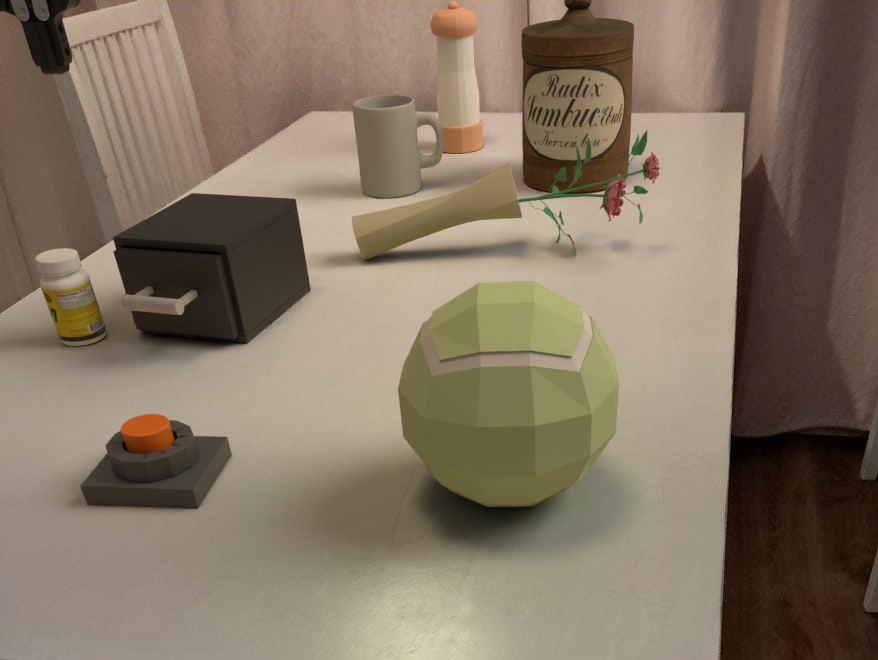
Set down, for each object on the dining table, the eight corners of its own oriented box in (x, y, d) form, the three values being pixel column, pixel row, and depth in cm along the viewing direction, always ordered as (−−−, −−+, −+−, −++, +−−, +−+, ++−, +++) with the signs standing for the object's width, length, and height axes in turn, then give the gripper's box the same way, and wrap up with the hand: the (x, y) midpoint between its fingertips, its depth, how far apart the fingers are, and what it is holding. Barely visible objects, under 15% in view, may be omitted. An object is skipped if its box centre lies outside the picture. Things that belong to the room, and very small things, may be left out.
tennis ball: (603, 437, 75) (613, 248, 65) (617, 545, 64) (631, 336, 54) (421, 441, 76) (403, 255, 66) (403, 548, 65) (378, 343, 55)
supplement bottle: (59, 333, 97) (30, 251, 91) (106, 325, 98) (79, 243, 92) (61, 350, 93) (31, 266, 88) (109, 342, 94) (82, 258, 89)
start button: (119, 456, 70) (112, 435, 69) (138, 433, 73) (131, 412, 72) (164, 457, 70) (158, 436, 69) (181, 434, 73) (175, 413, 71)
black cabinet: (247, 343, 93) (225, 245, 86) (140, 332, 96) (112, 237, 90) (311, 289, 103) (295, 198, 97) (212, 281, 106) (191, 192, 100)
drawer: (212, 357, 88) (191, 275, 83) (112, 346, 91) (86, 266, 86) (295, 289, 101) (282, 213, 96) (204, 281, 104) (187, 208, 99)
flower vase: (388, 309, 117) (661, 229, 112) (374, 317, 106) (676, 229, 101) (358, 210, 112) (641, 122, 107) (340, 208, 101) (655, 110, 96)
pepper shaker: (428, 148, 147) (417, 3, 134) (462, 139, 150) (455, -4, 138) (458, 155, 142) (450, 6, 130) (492, 146, 146) (488, 0, 133)
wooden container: (515, 193, 126) (512, 0, 112) (530, 164, 137) (529, -16, 123) (624, 194, 124) (635, -4, 110) (630, 164, 135) (641, -20, 120)
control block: (86, 505, 71) (71, 465, 69) (129, 452, 77) (116, 414, 75) (198, 508, 70) (186, 468, 68) (232, 454, 76) (222, 416, 74)
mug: (359, 199, 128) (348, 110, 120) (364, 182, 134) (354, 96, 127) (445, 195, 127) (439, 105, 120) (447, 178, 134) (441, 91, 126)
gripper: (-144, -207, 63) (-41, 83, 75) (35, -215, 62) (112, 82, 73) (-81, -206, 69) (6, 64, 80) (85, -214, 67) (150, 62, 79)
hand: (57, 72), depth 77 cm, fingers closed
